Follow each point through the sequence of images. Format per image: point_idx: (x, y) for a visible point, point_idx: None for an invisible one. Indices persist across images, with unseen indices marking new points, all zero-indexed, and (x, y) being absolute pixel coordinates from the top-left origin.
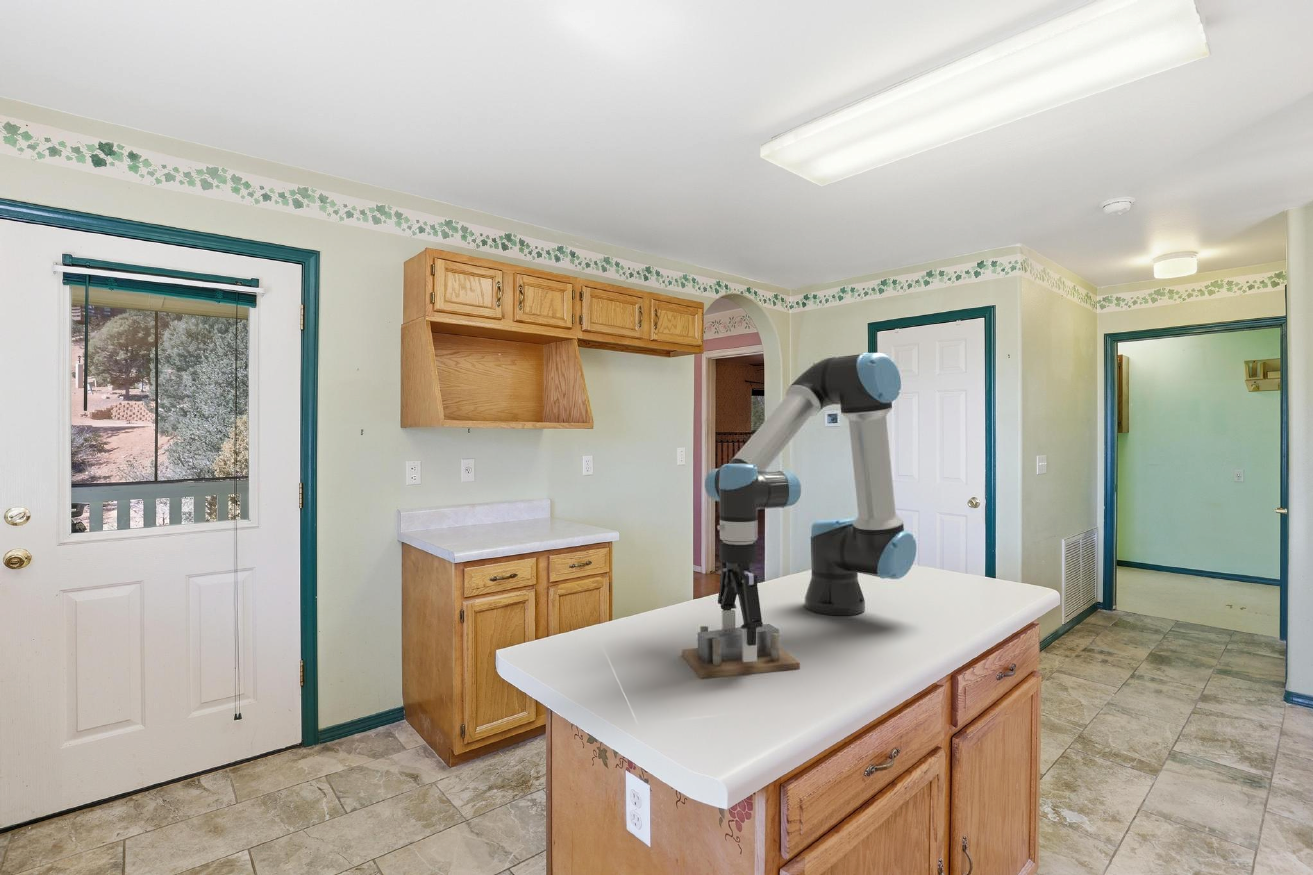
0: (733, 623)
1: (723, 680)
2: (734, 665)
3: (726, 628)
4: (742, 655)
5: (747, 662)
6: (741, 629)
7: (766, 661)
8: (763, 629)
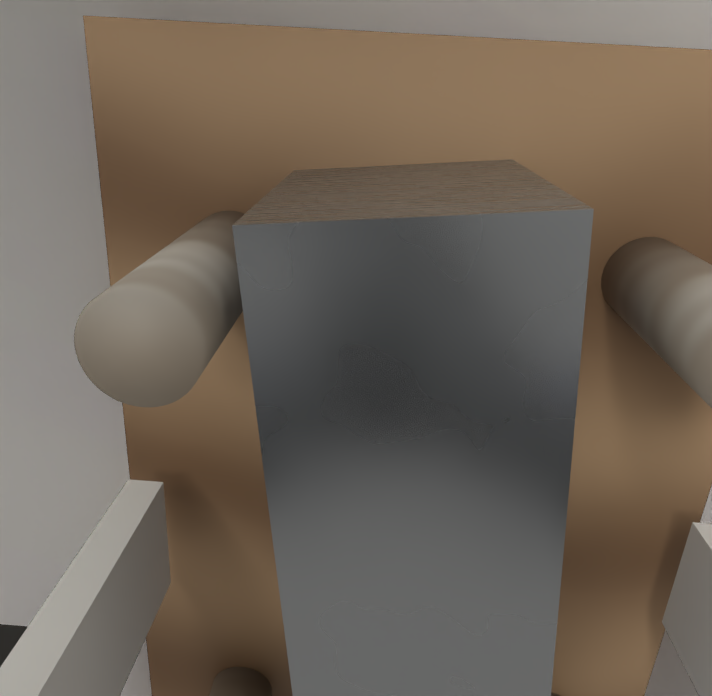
0: (82, 642)
1: (663, 678)
2: (596, 623)
3: (118, 666)
4: (689, 662)
5: (581, 519)
6: (381, 676)
7: (639, 372)
8: (490, 440)
